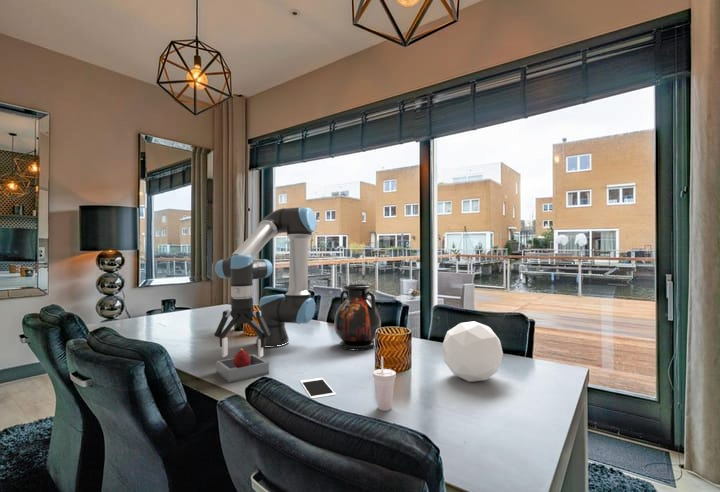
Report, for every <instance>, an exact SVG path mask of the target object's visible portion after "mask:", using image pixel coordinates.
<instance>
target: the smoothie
mask: <svg viewBox="0 0 720 492" xmlns="http://www.w3.org/2000/svg"><path fill="white" fill-rule="evenodd" d="M380 357H381V359H380V360H381V361H380V365H381V366H380V368H381V369H380V368H379V369H375V370H374V371H372V378H374V385H375V386H374V387H375V395H376V402H377V408H378V410H380V411H385V412H386V411H390V410H392V408H393V407H392V406H393V398H394V387H395V379H396V377H397V373H396V371H395V370H393V369H389V368H384V356H380Z"/></svg>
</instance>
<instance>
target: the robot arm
mask: <svg viewBox="0 0 720 492" xmlns="http://www.w3.org/2000/svg"><path fill="white" fill-rule="evenodd" d="M317 223H318V222H317V217H316V215H315V212H314V211H313V210H312V208H311V207H306V206H305V207H302V206H300V207H299V206H298V207H285V208H280V209H276V210H274V211H272V212H270V213H269V214H268V215H266V216H265V217H264V218H263V219H262V220H261V221H260V222H259V223H258V227H257V228H256V229H255V230H254V231H253V232H252V233H251V234H249V236H248V237H247V238H246V240H244V241H243V242H242V243H241V244H240V245H239V247H238V248H236V249H235V251H233V253H232V254H231V255H230V256H229V257H228V258H226V259H225V258H224V259H220V260H219V259H218V261H217V262H216V264H215V266H214V271H215V274H216V276H217V278H220V279H226V280H227V279H230V282H231V283H230V297H231V299H230V307H231V308H230V309H231V311H230V310H229V309H228V310H224V311H222V317H221V320H220V321H219V323H218V326H217V328H216V330H215V332H214V334H213V335H214V336H215V337H217V338H219V347H220V348H221V357H222V358H225V357H227V356H229V355H228V354H229V351H228V350H229V347H228V345H229V344H228V341H229V340H228V339H229V338H228V337H227V335H228V333H230V331H231V330H232V328H233V327H234V326H235V325H236V324H239V325H240V324H242V325H245V324H247V325H249V326H250V328H251V329H252V330H253V331H254V333H256V335H257V336H256V338H255V345H256V344H257V345H258V346H257V347H258V348H257V350H258V351H257V352H258V353H257V356H258V358H261V359H262V357H264V349H265V348H264V347H265V346H277V345H282V344H285V343H287V342H288V341H290V340H289V339H290V338H289V336H288V332H287V330H286V324H287V323H288V324H297V325H300V324H308V323H310V322H311V321H312V319H313V317H314V316H315V312H316V302H315V299H314V298H312V295H311V292H309V290H308V288H309V287H308V286H309V285H308V278H309V239H311V238H312V236H313V235H312V234H313V233H314V232H315V231H316V230H317V226H318V225H317ZM282 233H286V236H287V238H288V239H289V263H288V264H289V266H288V269H289V270H288V271H289V273H288V274H289V275H288V291H287V292H286V293H285V294H284V293H281V294H280V293H279V294H273V295H266V296H262V297H261V298H260V300H259V305H258V307H259V310H255V311H254V298H253V295H254V290H253V289H254V288H253V283H254V282H253V281H254V280H260V279H262V280H263V279H266V278H268V277H270V276H271V275H272V273H273V268H274V267H273V264H272V262H271V261H270V260H269V259H266V258H264V259H263V258H259V259H257V258H256V259H254V258H255V257H256V256H257V255H258V254H259V253H260V251H261V250H262V249H263V248H264V247H265V246H266V244H268V242H269V241H270V240H271V239H274V238H276V236H277V235H279V234H282ZM230 317H231V318H232V319H231V320H230V321H229V323H228V325H226V324H227V321H228V319H229V318H230ZM253 317H255V318H256V320H257V323H258V324H257V323H256V320H255V318H253ZM225 326H226V327H225Z"/></svg>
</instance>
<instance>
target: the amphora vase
mask: <svg viewBox="0 0 720 492" xmlns="http://www.w3.org/2000/svg"><path fill="white" fill-rule="evenodd" d="M342 288H343V290H342V291H340V294H339V295H340V296H339V305H340V306H339V307H338V309H337V310H336V313H335V316H334V323H333V326H334V327H333V328H334V329H333V330H334V331H335V334H336V336H337V337H338V338H339V339H340V340H341V341H340V342H339V346H340V347H341V348H342V347H343V349H345V348H346V349H345V350H348V349H354V350H353V351H363V350H362V349H366V350H369V349H368V348H370V349H372V348H374V347H375V346H374V341H375V339H376V337H375V331H376V329H377V328H381V327H382V322H381V317H380V313H379V310H378V309H377V307H376V296H375V294H374V292H372V291H369V289H371V288H372V286H371V284H365V283H364V284H363V283H361V284H360V283H354V284H345V285H343V286H342ZM345 294H346V298H345V297H344V296H345ZM369 296H370V299H369V298H368V297H369ZM344 298H345V299H344ZM381 329H382V328H381ZM373 346H374V347H373Z"/></svg>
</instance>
